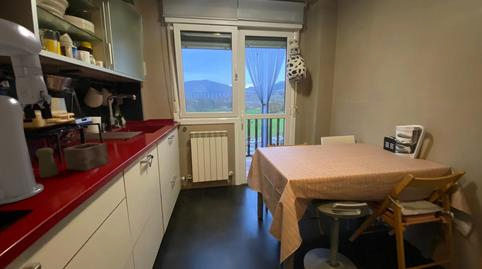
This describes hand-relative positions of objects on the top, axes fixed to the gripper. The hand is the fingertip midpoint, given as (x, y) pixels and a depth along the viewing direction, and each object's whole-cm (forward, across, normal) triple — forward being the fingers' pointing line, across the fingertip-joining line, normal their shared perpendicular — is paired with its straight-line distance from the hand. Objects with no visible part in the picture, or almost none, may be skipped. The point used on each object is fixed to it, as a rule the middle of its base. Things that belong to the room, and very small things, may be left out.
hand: (39, 118), depth 83 cm
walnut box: (+23, +5, +12) cm, 26 cm away
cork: (+23, 0, 0) cm, 23 cm away
